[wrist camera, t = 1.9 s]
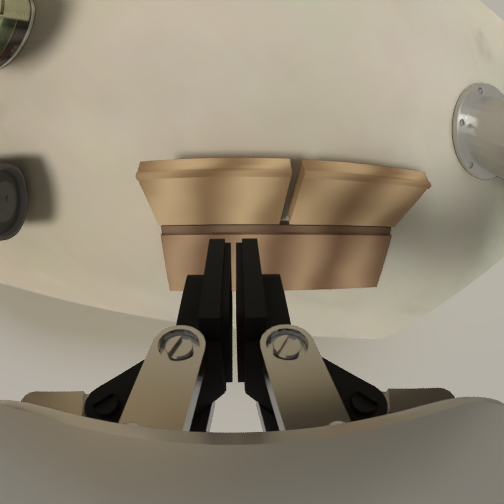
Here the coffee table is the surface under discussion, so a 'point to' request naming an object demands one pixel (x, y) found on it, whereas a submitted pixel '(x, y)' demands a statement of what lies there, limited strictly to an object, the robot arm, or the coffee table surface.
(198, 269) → the floor plank
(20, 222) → the bluetooth speaker
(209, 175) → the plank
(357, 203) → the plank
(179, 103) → the coffee table surface
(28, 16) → the coffee can
